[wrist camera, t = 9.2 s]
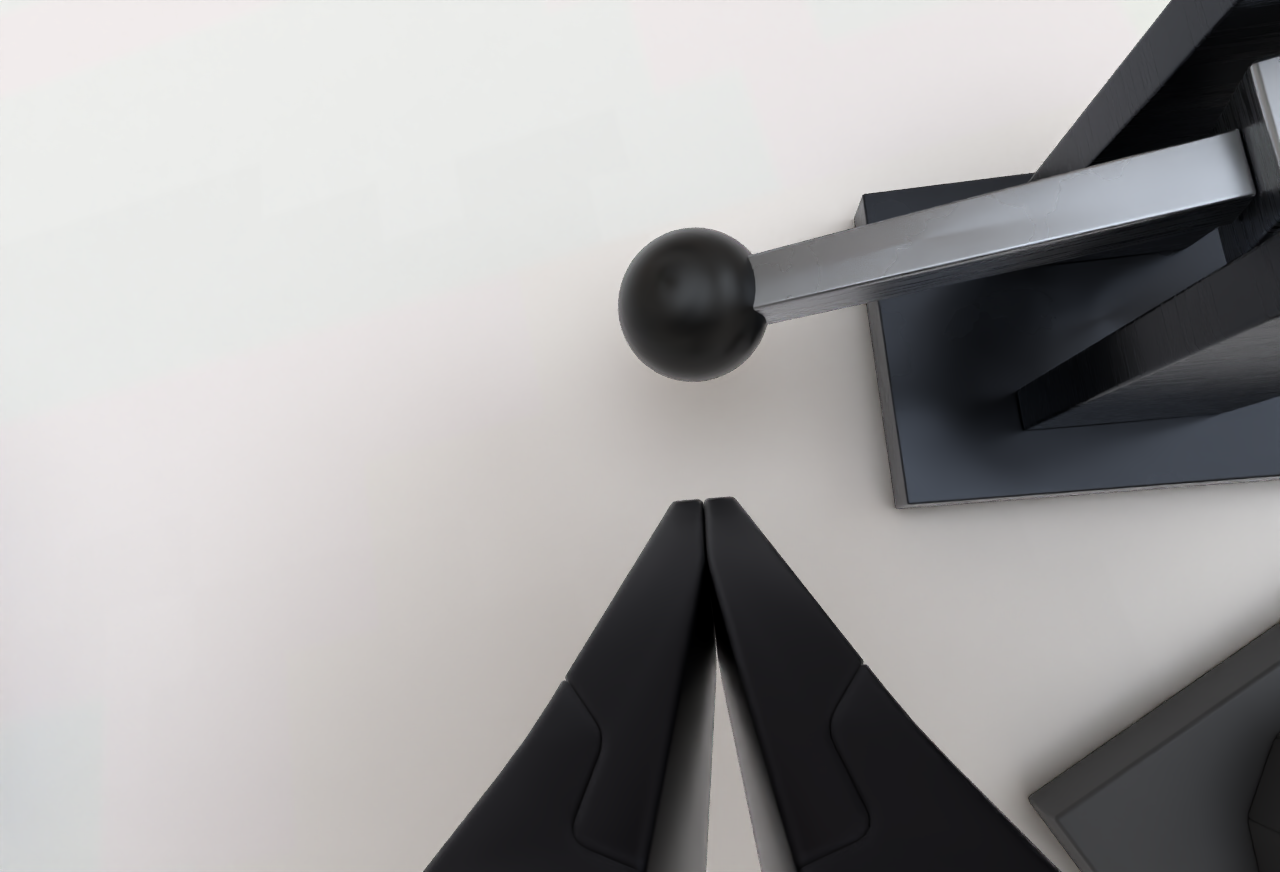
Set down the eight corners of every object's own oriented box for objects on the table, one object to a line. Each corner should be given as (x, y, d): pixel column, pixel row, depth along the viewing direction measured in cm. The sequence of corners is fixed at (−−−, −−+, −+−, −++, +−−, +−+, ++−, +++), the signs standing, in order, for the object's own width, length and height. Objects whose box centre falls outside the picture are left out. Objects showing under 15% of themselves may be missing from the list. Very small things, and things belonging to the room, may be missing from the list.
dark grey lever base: (895, 509, 17) (1111, 436, 7) (853, 217, 19) (988, -154, 9) (1334, 475, 16) (2249, 338, 6) (1251, 168, 17) (1884, -312, 8)
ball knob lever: (660, 406, 15) (594, 375, 12) (650, 280, 16) (586, 225, 13) (1467, 262, 10) (1653, 155, 7) (1408, 82, 10) (1558, -78, 8)
